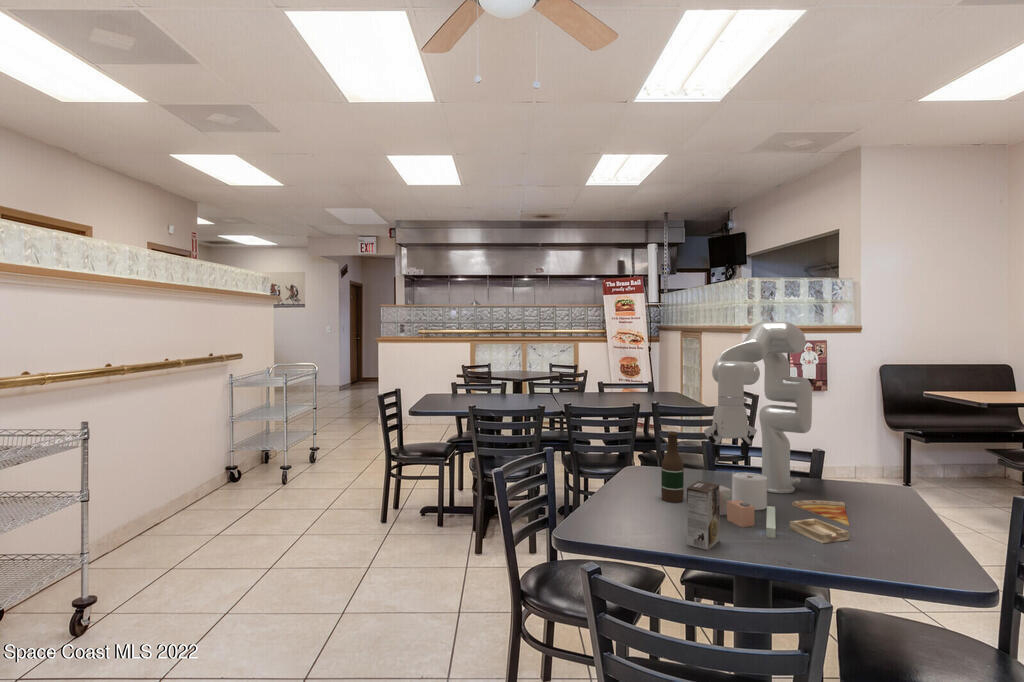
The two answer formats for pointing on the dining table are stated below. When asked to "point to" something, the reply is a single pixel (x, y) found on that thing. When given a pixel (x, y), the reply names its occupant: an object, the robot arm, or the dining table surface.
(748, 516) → the block
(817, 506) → the pizza slice
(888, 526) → the dining table surface
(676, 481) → the beer bottle
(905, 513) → the dining table surface
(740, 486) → the toilet tissue
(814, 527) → the keyed cradle
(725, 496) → the post
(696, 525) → the coffee box
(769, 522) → the pale green bar
